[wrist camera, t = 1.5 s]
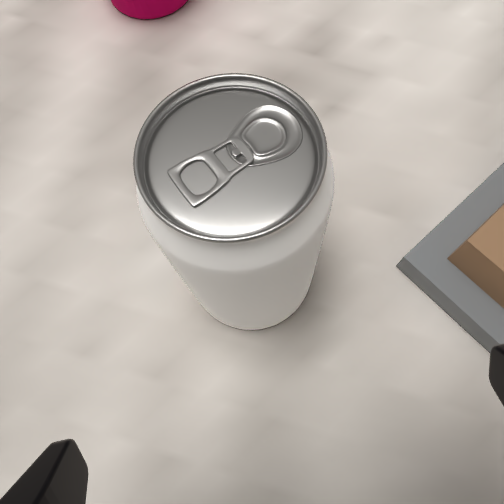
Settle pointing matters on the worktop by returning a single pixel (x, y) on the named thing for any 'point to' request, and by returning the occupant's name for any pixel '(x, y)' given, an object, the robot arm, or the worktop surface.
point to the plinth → (448, 277)
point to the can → (237, 194)
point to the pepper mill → (148, 7)
